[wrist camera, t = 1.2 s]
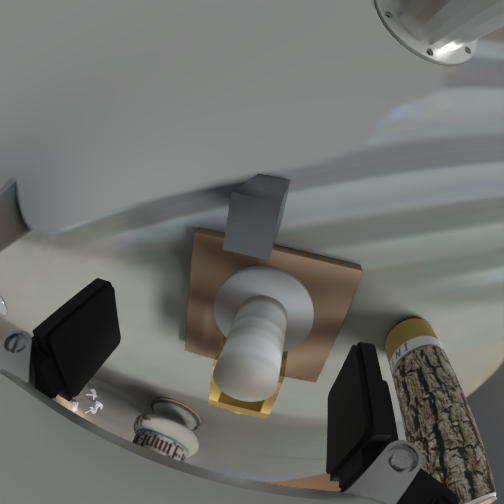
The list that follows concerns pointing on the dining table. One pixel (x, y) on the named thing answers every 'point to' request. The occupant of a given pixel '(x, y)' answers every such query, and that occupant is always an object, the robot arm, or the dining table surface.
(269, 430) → the dining table surface
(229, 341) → the board
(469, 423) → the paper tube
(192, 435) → the apothecary jar
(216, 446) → the dining table surface
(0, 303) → the wineglass
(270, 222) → the grey rectangular bar
